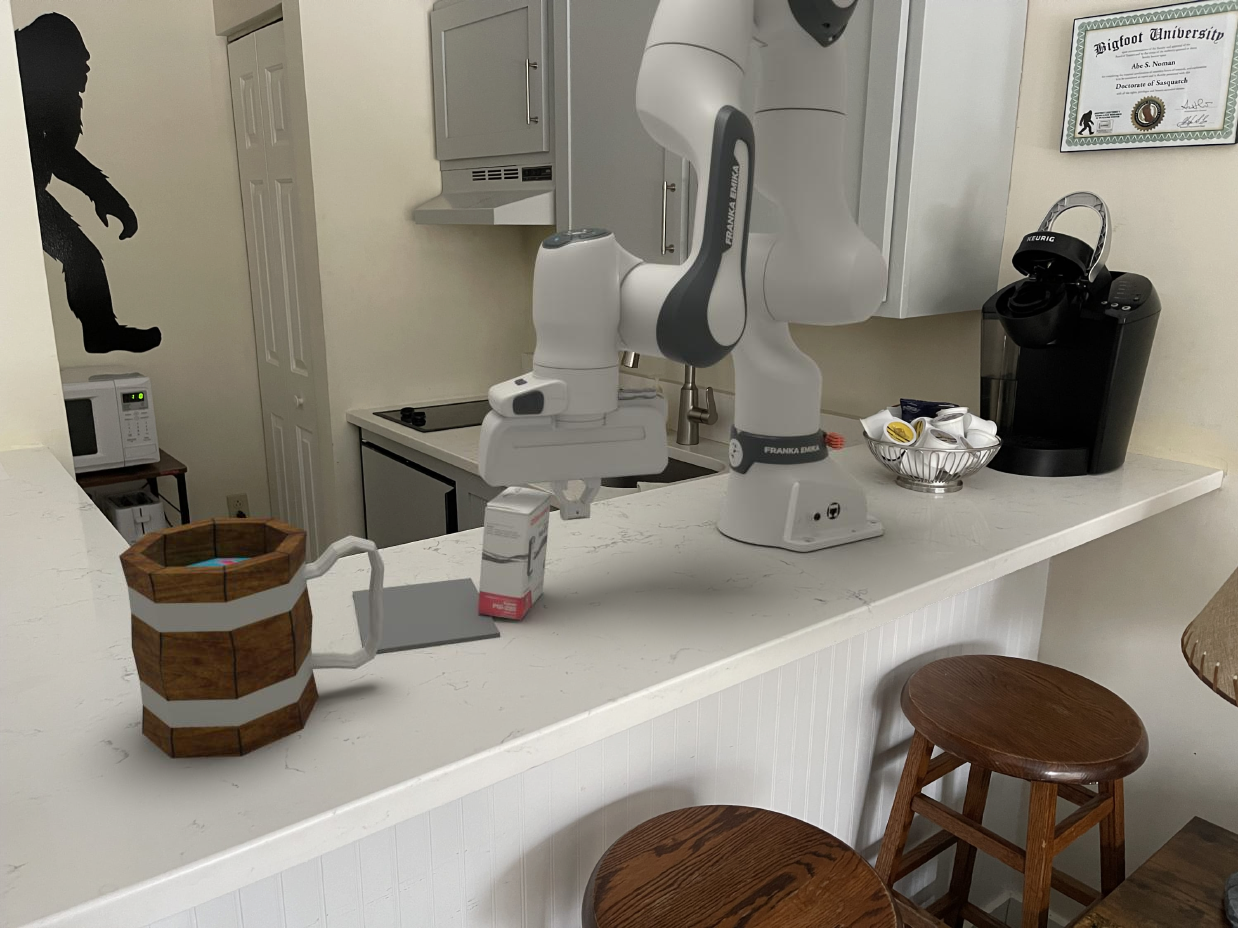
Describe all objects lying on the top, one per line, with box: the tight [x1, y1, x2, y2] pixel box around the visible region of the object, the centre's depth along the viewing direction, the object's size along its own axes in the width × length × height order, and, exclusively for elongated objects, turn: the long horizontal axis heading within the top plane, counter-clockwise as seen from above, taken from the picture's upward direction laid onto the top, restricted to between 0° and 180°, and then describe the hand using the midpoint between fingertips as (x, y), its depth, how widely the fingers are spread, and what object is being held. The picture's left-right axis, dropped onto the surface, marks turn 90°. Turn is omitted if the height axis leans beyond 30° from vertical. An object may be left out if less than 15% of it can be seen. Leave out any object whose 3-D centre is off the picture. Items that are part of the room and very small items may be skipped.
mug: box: [118, 517, 385, 759], centre depth 74 cm, size 20×14×15 cm
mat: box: [352, 577, 501, 655], centre depth 94 cm, size 13×15×1 cm
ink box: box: [478, 486, 552, 621], centre depth 95 cm, size 9×5×12 cm, turn 169°
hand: (574, 518), depth 96 cm, fingers closed
